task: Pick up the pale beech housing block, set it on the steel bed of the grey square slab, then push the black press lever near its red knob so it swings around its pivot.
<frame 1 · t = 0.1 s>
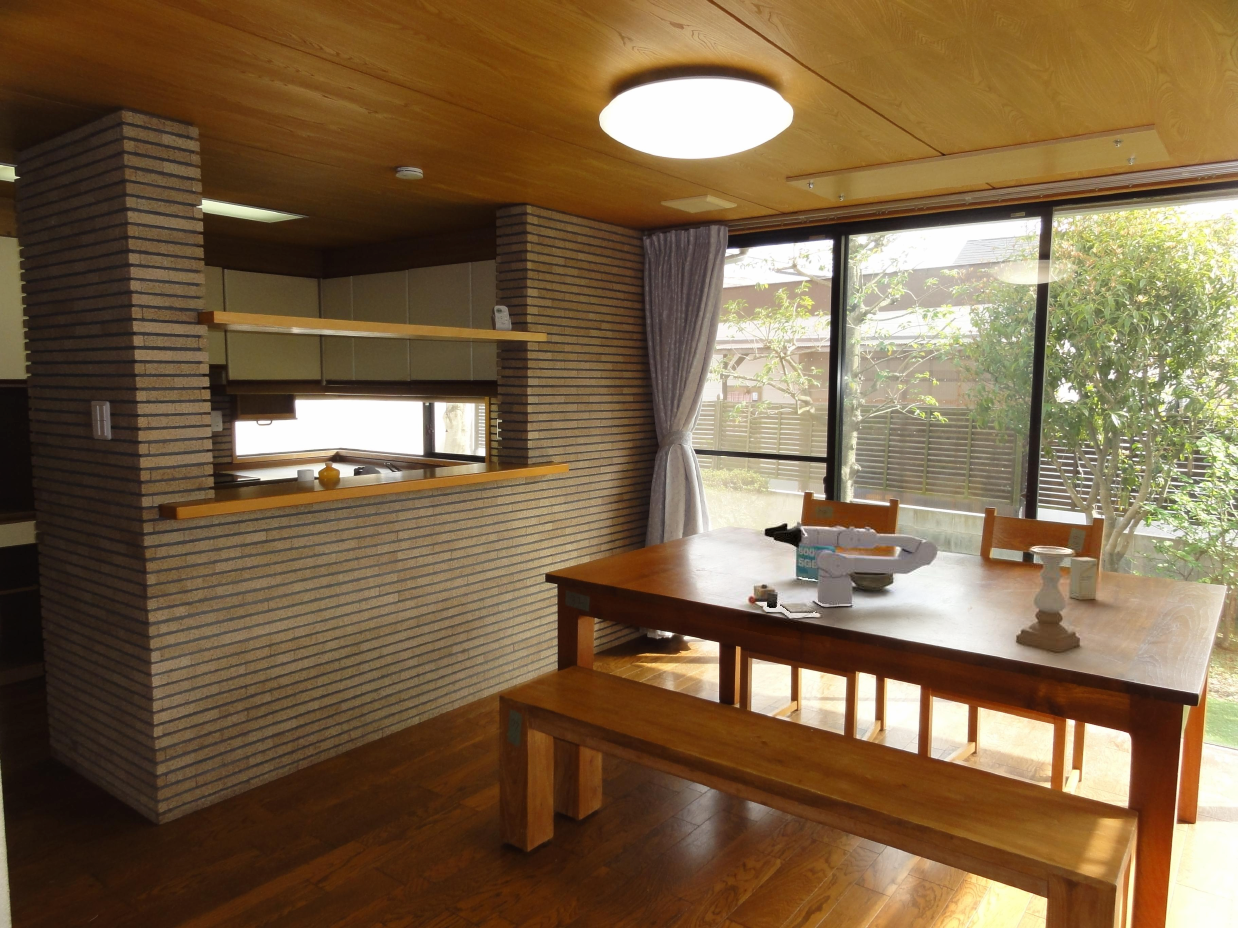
hand: (769, 534, 240), 22 cm above the table, tool horizontal, fingers open, 7 cm apart
bowl: (866, 588, 265), on the table
grey square slab: (797, 612, 236), on the table
housing block: (764, 604, 246), on the table
candle holder: (1047, 644, 207), on the table
press lever: (762, 599, 237), point 3 cm above the table, hinge at 0.0°
data package: (815, 580, 276), on the table
skincare box: (1082, 598, 252), on the table
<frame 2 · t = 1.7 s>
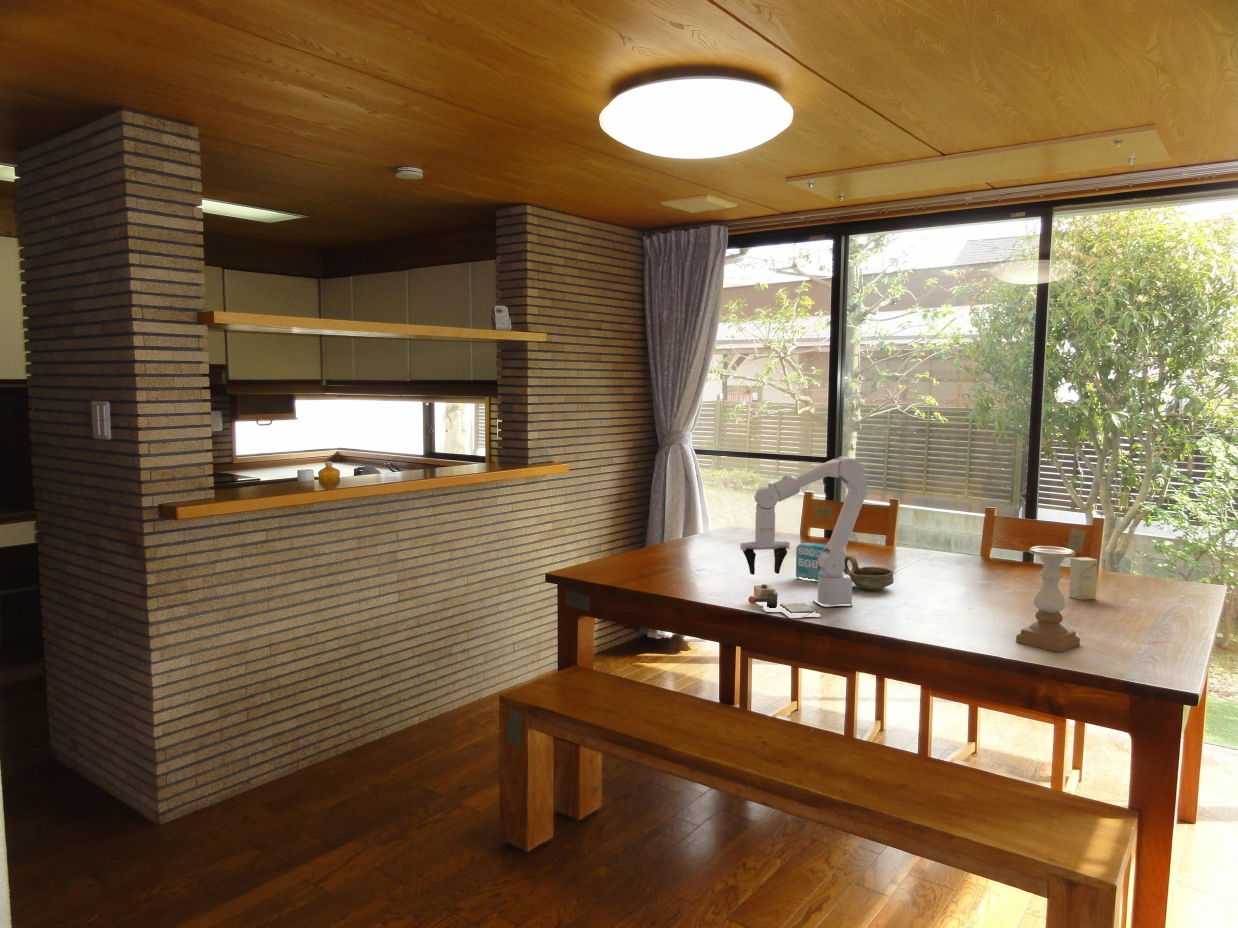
hand: (764, 573, 245), 9 cm above the table, tool pointing down, fingers open, 7 cm apart
nothing on the table moved.
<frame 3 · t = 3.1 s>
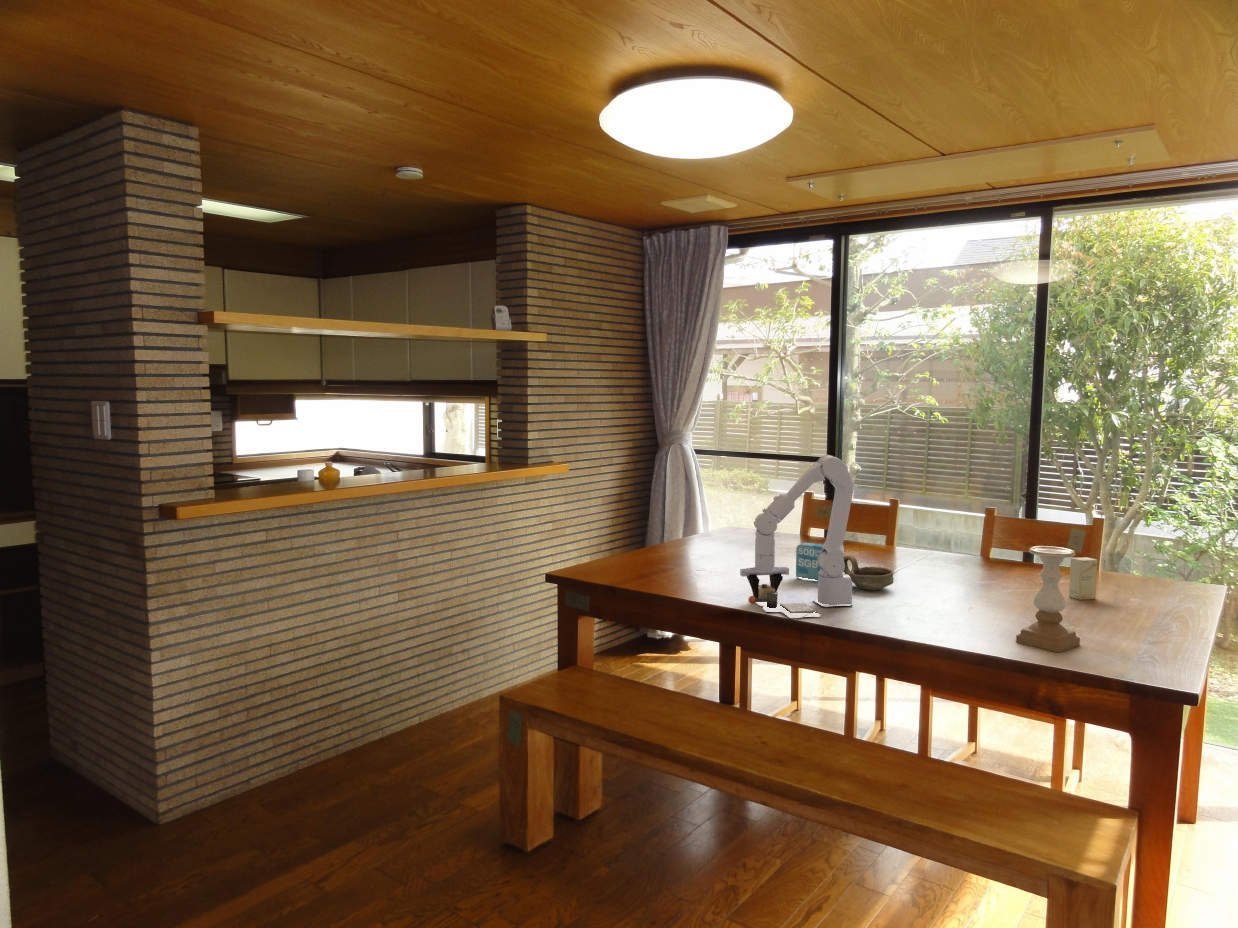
hand: (764, 598, 246), 1 cm above the table, tool pointing down, fingers closed on housing block, 5 cm apart
housing block: (764, 603, 246), on the table, touching gripper
everything else where it was.
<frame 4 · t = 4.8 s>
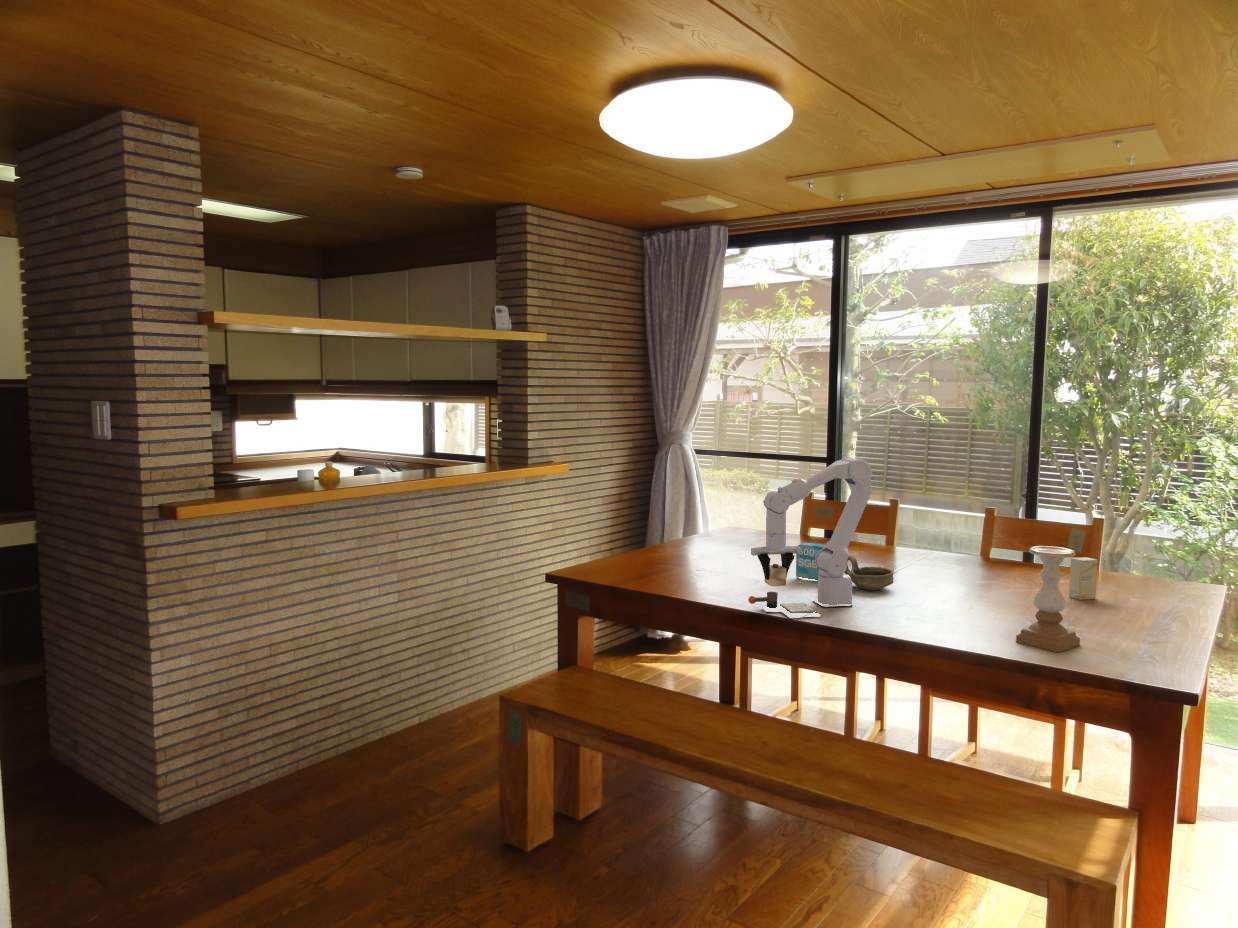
hand: (775, 578, 242), 8 cm above the table, tool pointing down, fingers closed on housing block, 5 cm apart
housing block: (775, 583, 242), point 7 cm above the table, touching gripper
everything else where it was.
when the fingers open (4 cm above the table, at t = 6.8 s): housing block stays where it is, resting on grey square slab.
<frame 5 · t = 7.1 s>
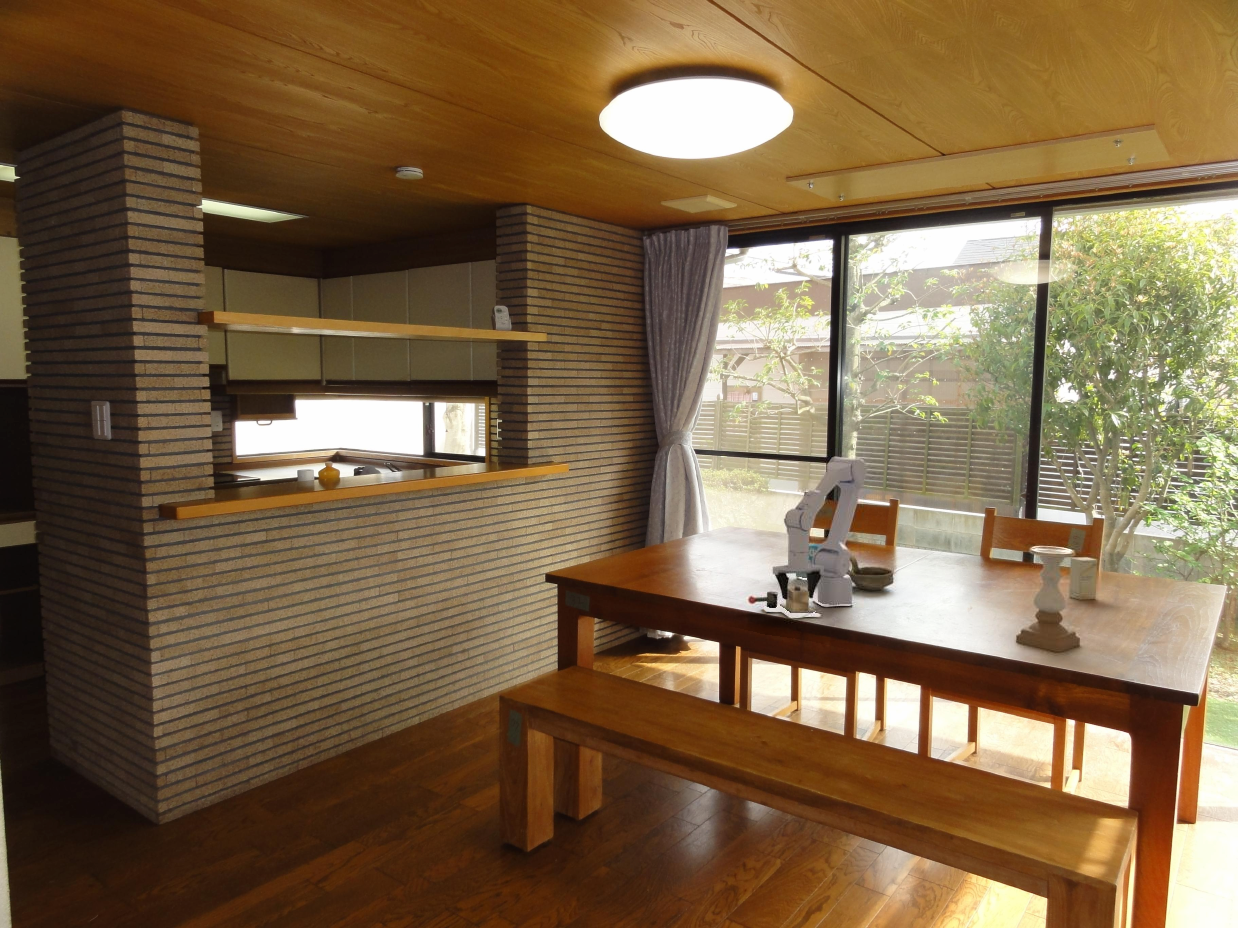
hand: (797, 598, 236), 4 cm above the table, tool pointing down, fingers open, 7 cm apart
housing block: (797, 606, 236), point 2 cm above the table, touching grey square slab
everything else where it was.
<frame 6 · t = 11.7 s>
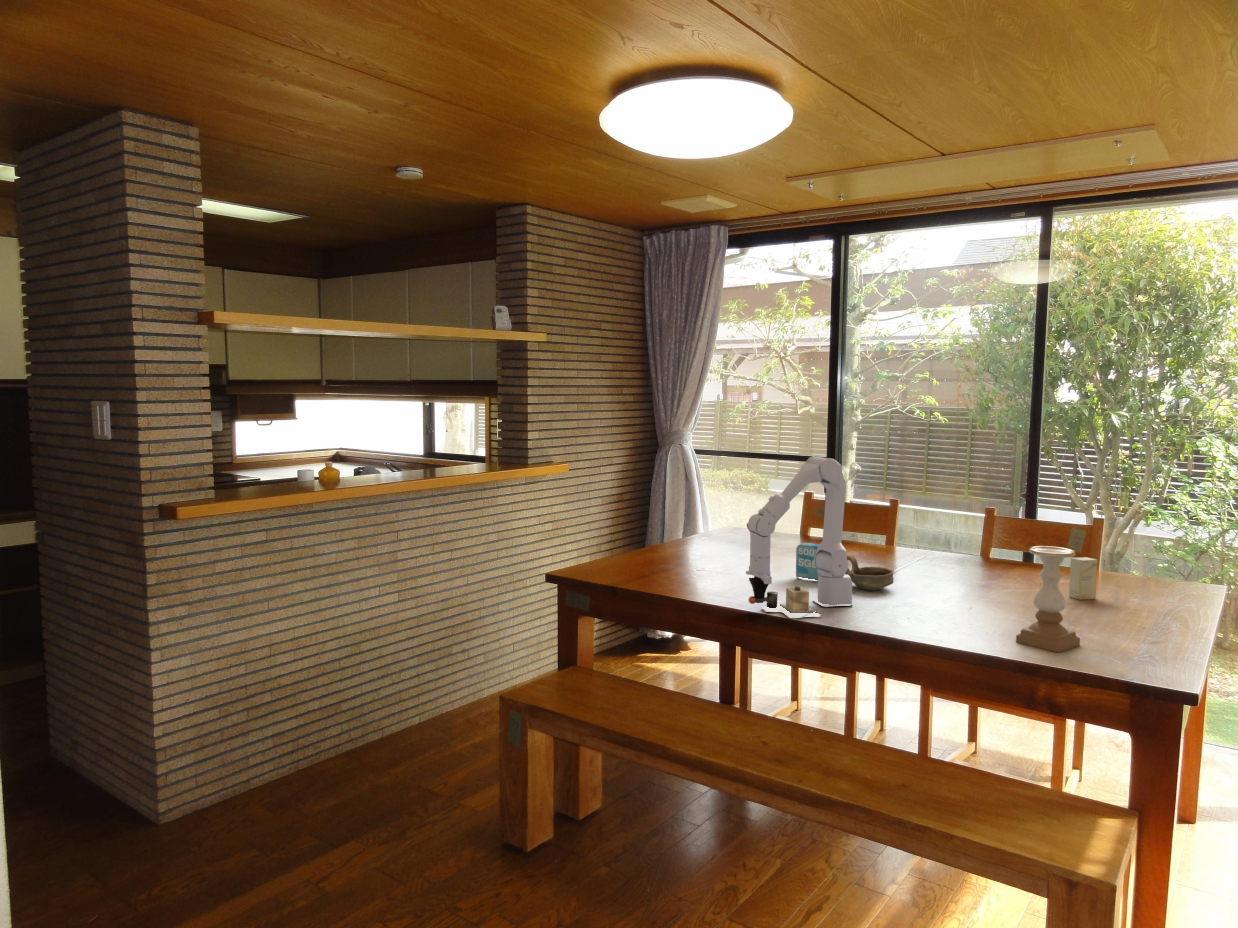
hand: (759, 602, 238), 2 cm above the table, tool pointing down, fingers closed, pressing on press lever
press lever: (762, 600, 237), point 3 cm above the table, hinge at 1.9°, touching gripper
everything else where it was.
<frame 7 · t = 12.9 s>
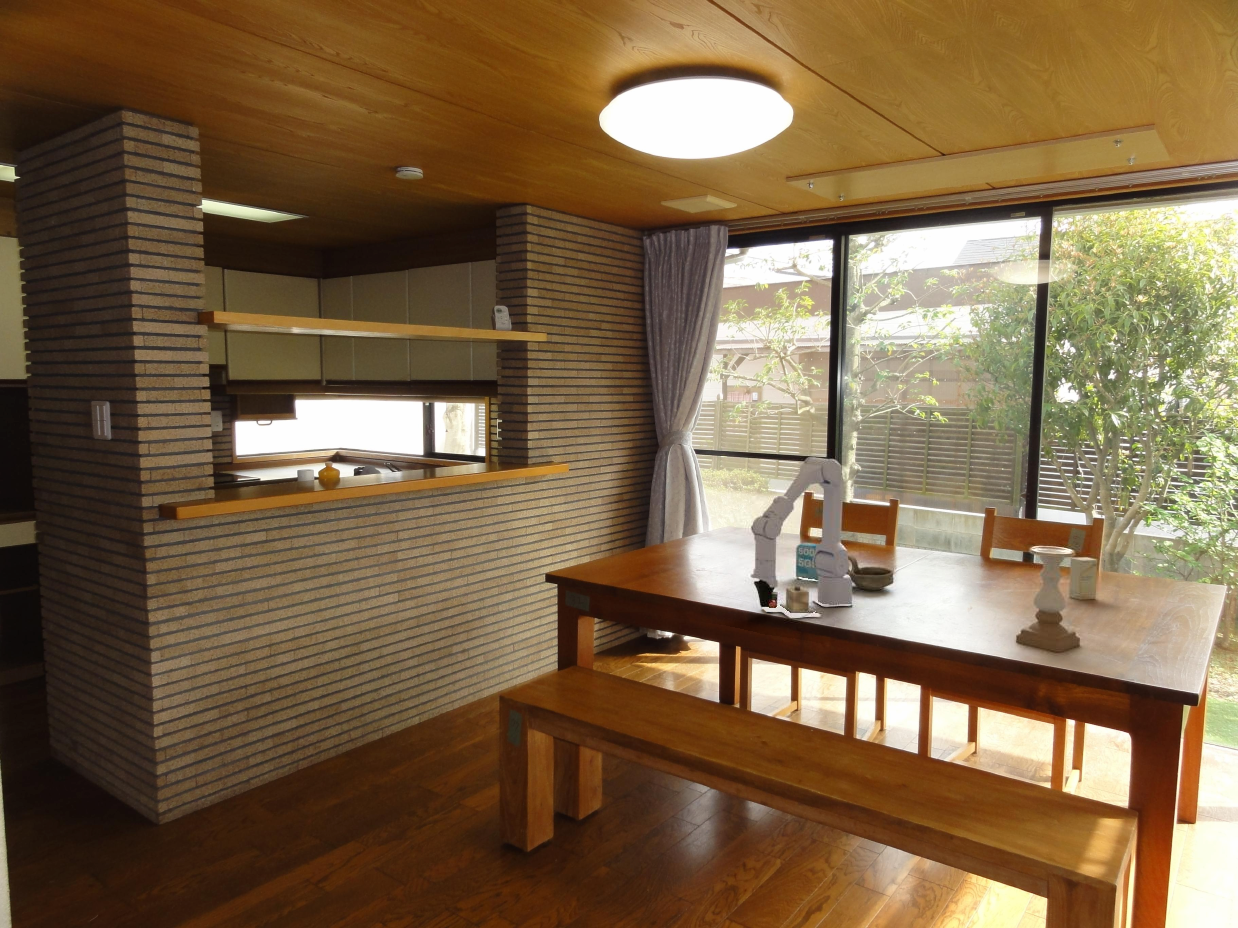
hand: (764, 606, 233), 2 cm above the table, tool pointing down, fingers closed, pressing on press lever
press lever: (772, 602, 235), point 3 cm above the table, hinge at 71.0°, touching gripper
everything else where it was.
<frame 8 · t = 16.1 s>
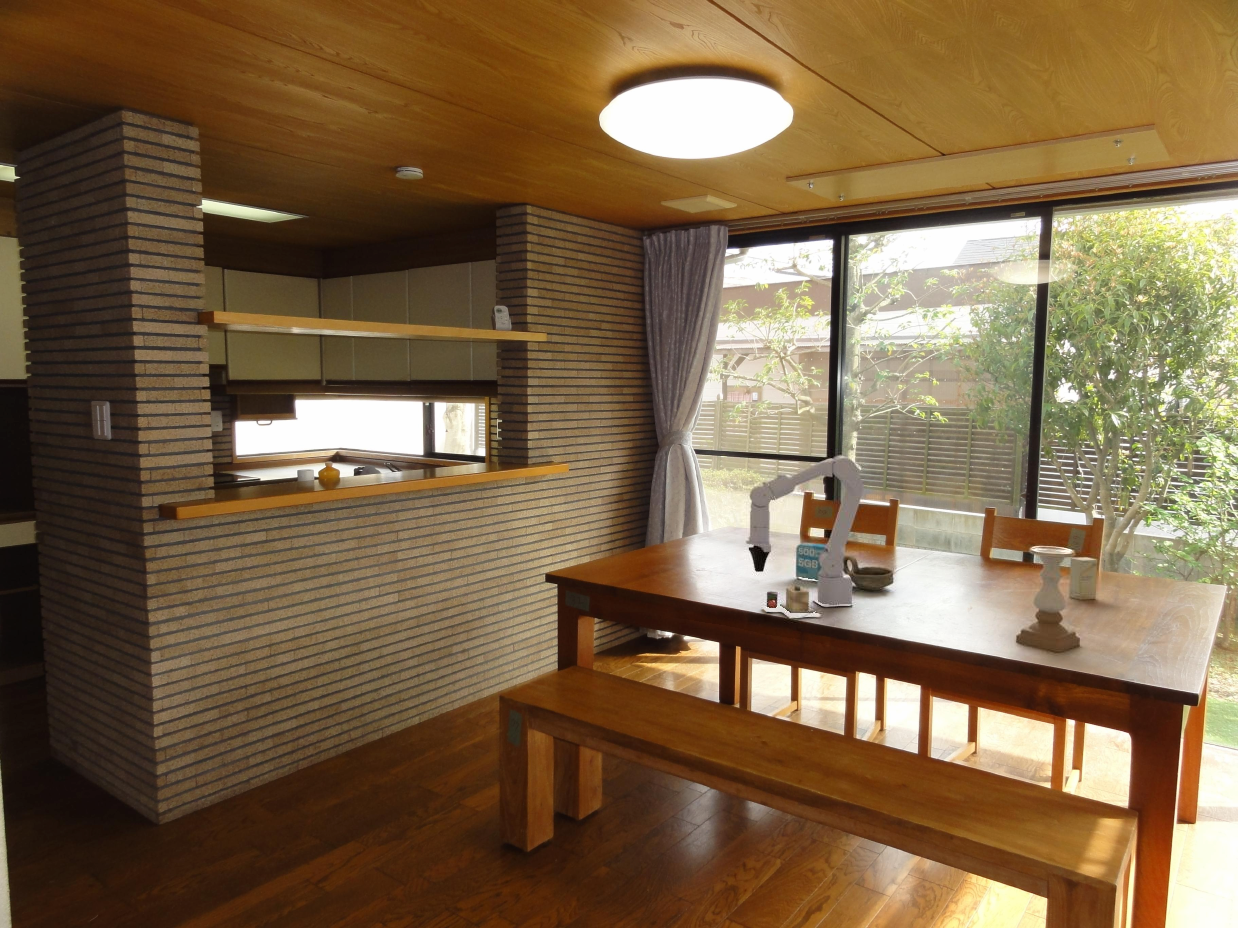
hand: (759, 571, 247), 9 cm above the table, tool pointing down, fingers closed
press lever: (772, 602, 235), point 3 cm above the table, hinge at 70.9°
everything else where it was.
at the end: housing block 0.2 cm off-centre on the grey square slab, point 1.6 cm above the grey square slab's base; housing block tilted 0°; press lever at +71° (first picture: +0°) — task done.
